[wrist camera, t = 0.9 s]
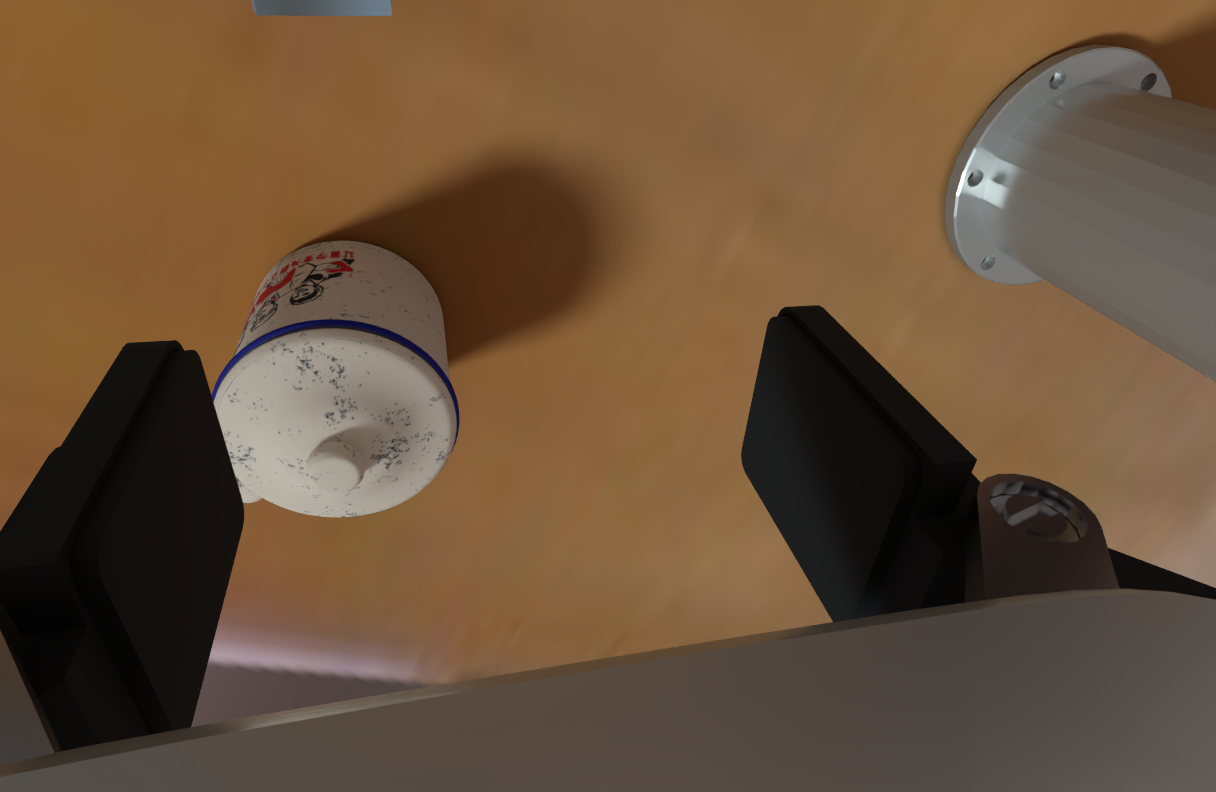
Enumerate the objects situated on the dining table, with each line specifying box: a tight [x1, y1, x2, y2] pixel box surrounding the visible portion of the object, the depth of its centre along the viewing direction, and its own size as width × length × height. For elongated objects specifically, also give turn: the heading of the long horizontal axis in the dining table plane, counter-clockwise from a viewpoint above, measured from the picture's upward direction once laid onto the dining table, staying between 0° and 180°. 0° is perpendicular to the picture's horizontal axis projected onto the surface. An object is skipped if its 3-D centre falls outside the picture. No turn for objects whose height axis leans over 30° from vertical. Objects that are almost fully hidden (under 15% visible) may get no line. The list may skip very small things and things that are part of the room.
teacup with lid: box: [212, 241, 459, 517], centre depth 31 cm, size 12×9×12 cm
